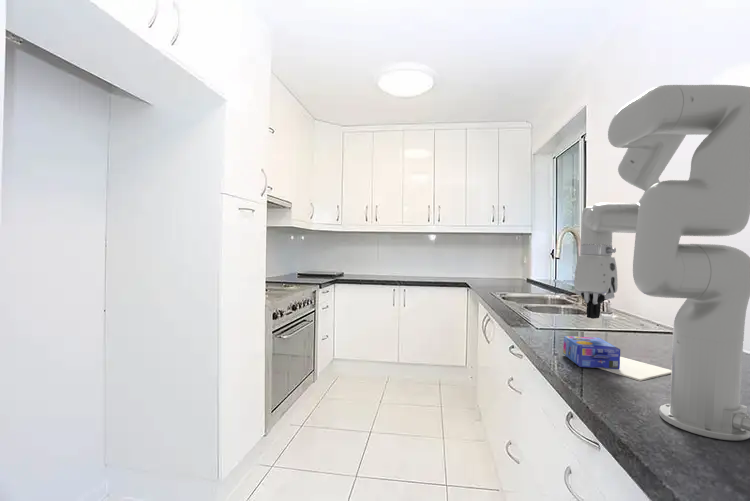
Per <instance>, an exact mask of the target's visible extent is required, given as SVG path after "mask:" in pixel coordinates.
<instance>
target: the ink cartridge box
mask: <svg viewBox="0 0 750 501" xmlns="http://www.w3.org/2000/svg"><path fill="white" fill-rule="evenodd" d="M562 354H563V355H564V356H565V357H566V358H568V359H569V360H570V361H572V362H573V363H575V365H577V366H578V367H580V368H592V369H594V368H596V369H599V368H610V369H619V368H620V357H621V348H619V347H617V346H615V345H614V344H612V343H610V342H608V341H606V340H605V339H603V338H601V337H594V336H592V337H591V336H590V337H589V336H575V335H564V336H563V342H562Z"/></svg>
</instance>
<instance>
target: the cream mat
mask: <svg viewBox="0 0 750 501" xmlns="http://www.w3.org/2000/svg"><path fill="white" fill-rule="evenodd" d="M598 369H600V370H604V371H607V372H609V373H613V374H616V375H619V376H622V377H625V378H629V379H632V380H636V381H640V382H641V381H645V380H650V379H654V378H658V377H662V376H666V375H671V369H669V368H664V367H661V366H658V365H654V364H649V363H646V362H643V361H638V360H634V359H631V358H627V357H623V356H620V368H619V369H610V368H598Z"/></svg>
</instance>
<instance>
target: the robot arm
mask: <svg viewBox="0 0 750 501" xmlns="http://www.w3.org/2000/svg"><path fill="white" fill-rule="evenodd" d="M687 135H688V136H689V135H691V136H692V135H695V136H697V135H703V136H705V135H706V137H704V139H703V140H702V141H701V142H700V143H699V144H698V146H697V147H696V149H695V151H694V152H693V154H692V157H691V161H690V172H689V178H688V180H686V179H685V180H682V179H681V180H680V179H679V180H677V179H676V180H675V179H674V180H673V179H670V180H662V181H660V177H661V175H662V173H663V172H664V171H665V169H666V167H667V166H668V164H669V163H670V161H671V160H672V158H673V157H674V155H675V153H676V152H677V151H678V149H679V147H680V146H681V144H682V142H683V141H684V139H685V138H686V137H687ZM607 139H608V142H609V143H610V145H611V146H612V147H615V148H618V149H619V148H620V149H626V152H625V153H624V155H623V157H622V159H621V161H620V162H619V164H618V168H617V172H618V175H619V176H620V177H621V178H622V179H623V181H625V182H626V183H628V184H630V185H632V186H633V187H636V188H638V189H641V190H642V191H644V192H643V194H642V196H641V198H640V199H639V200H638V202H636V203H635V202H633V203H631V202H629V203H628V202H627V203H626V202H599V203H595V204H593V205H592V206H591V205H590V206H586V207H584V208H583V209H582V212H581V231H580V234H581V235H580V255H578V256H577V260H576V265H575V272H574V283H573V284H574V289H575V290H574V293H575V294H576V295H578V296H580V297H582V298H583V300H584V303H585V304H586V311H585V312H586V318H588V319H599V318H600V315H601V305H602V304H604V302H605V301H606V300H611V299H612V300H613V299H615V293H617V291H618V286H619V284H618V269H617V263H616V257H615V256H614V257H613V256H612V255H613V254H615V253H616V252H617V249H616V247H613V233H620V234H621V233H624V234H625V233H626V234H635V237H634V238H635V239H634V247H633V258H632V277H633V281H634V285H635V286H636V287H637V289H638V290H639V291H640V292H641V293H642V294H643V295H646V296H649V297H653V298H666V299H667V298H668V299H686V300H685V301H684V302H683V303H682V305H681V306H680V308H679V309H678V311H677V312H676V314H675V318H674V320H673V328H672V329H673V331H672V346H671V347H672V348H671V350H672V351H671V368H670V370H671V374H670V392H669V394H670V395H669V403H665V404H662V405H660V407H659V408H658V414H659V417H661V419H662V420H664V421H665V423H668V424H670V425H671V426H673V427H675V428H679V429H681V430H682V431H686V432H689V433H692V434H695V435H699V436H702V437H707V438H711V439H716V440H722V441H723V440H724V441H745V440H748V439H750V414H749V413H748V406H747V405H744V404H741V390H742V371H743V354H744V353H743V351H744V350H743V349H744V340H745V339H744V338H745V327H746V326H745V324H746V317H747V316H746V314H747V309H748V305H749V300H750V256H749V254H747V253H746V252H744V251H743V250H741V249H739V248H736V247H734V246H729V245H724V244H711V243H709V244H708V243H707V244H706V243H680V240H681V237H727V236H733V235H737V234H738V233H741V232H742V231H743V230H744V229H745V228H746V226H747V225H748V223H749V220H750V86H745V85H737V84H735V85H734V84H667V85H665V84H664V85H659V86H655V87H652V88H650V89H648V90H646V91H645V92H643V93H642V94H640V95H638V96H637V97H636V98H634V99H632V100H631V101H629V102H627V103H626V104H625V105H624V106H622V107H621V108H620V109H619V110H618V111H617V112H616V114H615V115H614V116H613V117H612V119H611V121H610V124H609V126H608V130H607Z"/></svg>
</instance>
